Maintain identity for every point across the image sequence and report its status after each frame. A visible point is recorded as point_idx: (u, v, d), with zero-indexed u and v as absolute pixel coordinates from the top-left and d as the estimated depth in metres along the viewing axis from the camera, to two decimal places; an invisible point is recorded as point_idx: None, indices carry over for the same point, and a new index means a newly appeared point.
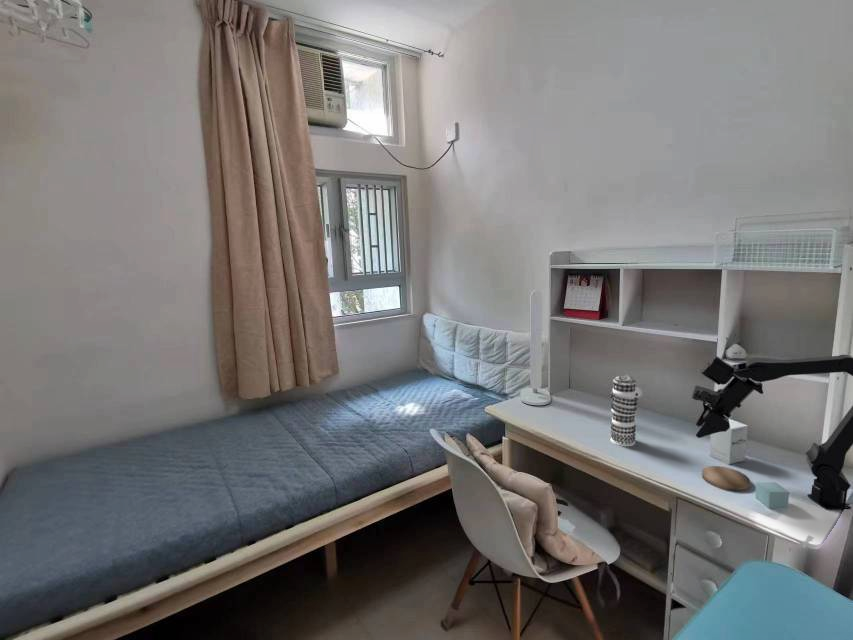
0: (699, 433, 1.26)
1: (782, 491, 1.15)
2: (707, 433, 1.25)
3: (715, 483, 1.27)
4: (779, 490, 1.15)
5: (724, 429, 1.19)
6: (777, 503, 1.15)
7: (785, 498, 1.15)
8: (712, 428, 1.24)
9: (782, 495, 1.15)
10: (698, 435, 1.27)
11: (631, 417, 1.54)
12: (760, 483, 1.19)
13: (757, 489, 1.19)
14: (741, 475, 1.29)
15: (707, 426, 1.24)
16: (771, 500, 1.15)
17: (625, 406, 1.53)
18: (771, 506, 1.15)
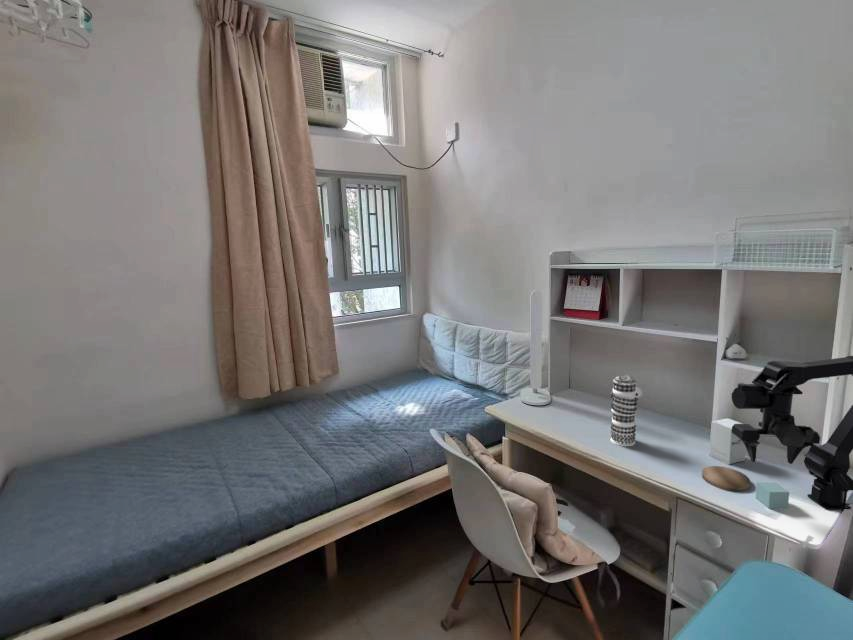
0: None
1: (782, 491, 1.15)
2: None
3: (715, 483, 1.27)
4: (779, 490, 1.15)
5: None
6: (777, 503, 1.15)
7: (785, 498, 1.15)
8: None
9: (782, 495, 1.15)
10: None
11: (631, 417, 1.54)
12: (760, 483, 1.19)
13: (757, 489, 1.19)
14: (741, 475, 1.29)
15: None
16: (771, 500, 1.15)
17: (625, 406, 1.53)
18: (771, 506, 1.15)
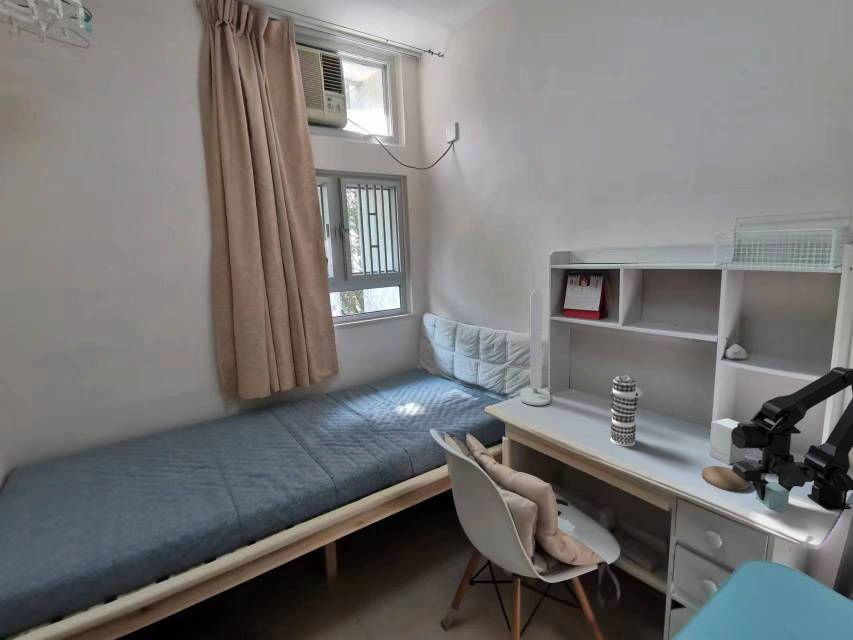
0: None
1: (782, 491, 1.15)
2: None
3: (715, 483, 1.27)
4: (779, 490, 1.15)
5: None
6: (777, 503, 1.15)
7: (785, 498, 1.15)
8: None
9: (782, 495, 1.15)
10: None
11: (631, 417, 1.54)
12: None
13: None
14: None
15: None
16: (771, 500, 1.15)
17: (625, 406, 1.53)
18: (771, 506, 1.15)
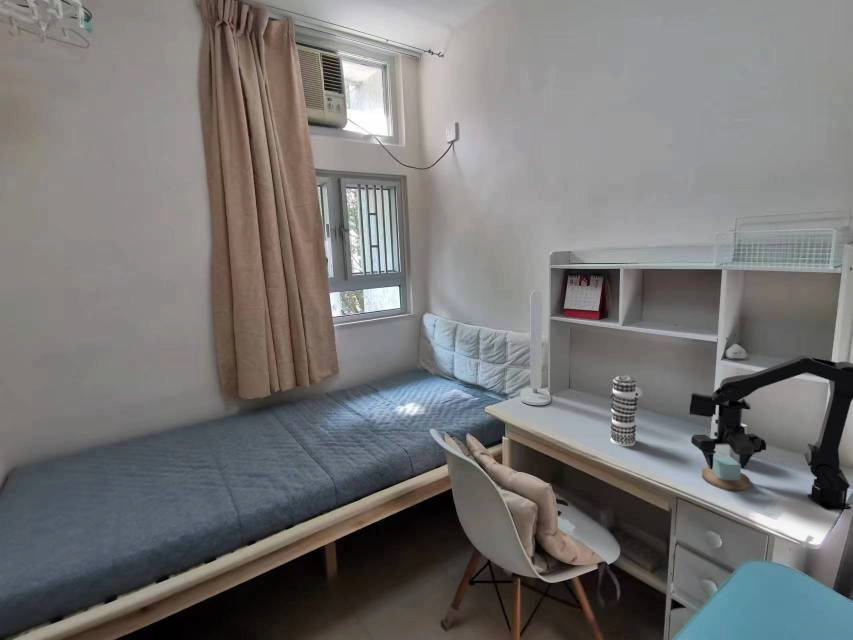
0: None
1: (735, 464, 1.27)
2: None
3: (715, 483, 1.27)
4: (732, 463, 1.27)
5: None
6: (730, 475, 1.27)
7: (737, 470, 1.27)
8: None
9: (734, 468, 1.26)
10: None
11: (631, 417, 1.54)
12: (716, 457, 1.31)
13: (713, 463, 1.31)
14: (741, 475, 1.29)
15: None
16: (725, 472, 1.27)
17: (625, 406, 1.53)
18: (725, 478, 1.27)
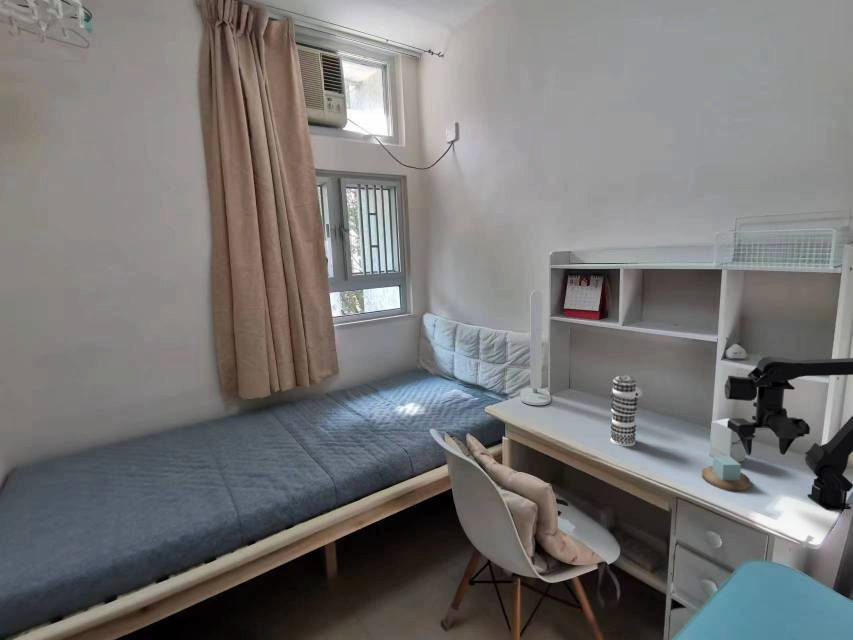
0: None
1: (734, 464, 1.27)
2: None
3: (715, 483, 1.27)
4: (732, 463, 1.27)
5: None
6: (730, 475, 1.27)
7: (737, 470, 1.27)
8: None
9: (734, 468, 1.26)
10: None
11: (631, 417, 1.54)
12: (716, 457, 1.31)
13: (713, 463, 1.31)
14: (741, 475, 1.29)
15: None
16: (725, 472, 1.27)
17: (625, 406, 1.53)
18: (725, 478, 1.27)
